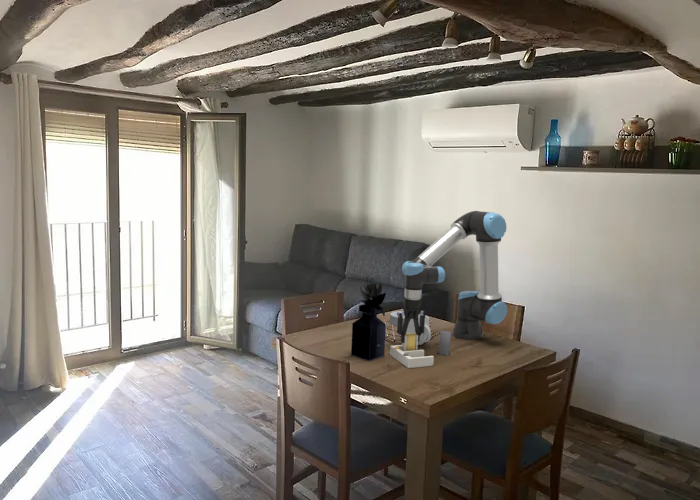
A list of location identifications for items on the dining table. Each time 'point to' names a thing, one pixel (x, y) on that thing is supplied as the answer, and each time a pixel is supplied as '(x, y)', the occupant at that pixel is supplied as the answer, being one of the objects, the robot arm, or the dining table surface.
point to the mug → (424, 335)
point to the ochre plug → (410, 341)
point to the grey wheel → (395, 318)
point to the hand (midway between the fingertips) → (409, 349)
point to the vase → (369, 325)
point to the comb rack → (411, 357)
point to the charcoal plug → (444, 342)
